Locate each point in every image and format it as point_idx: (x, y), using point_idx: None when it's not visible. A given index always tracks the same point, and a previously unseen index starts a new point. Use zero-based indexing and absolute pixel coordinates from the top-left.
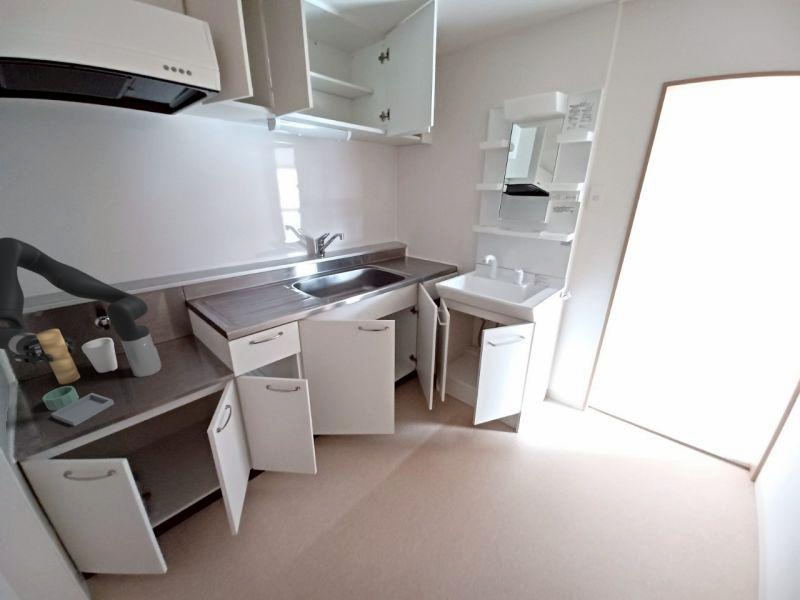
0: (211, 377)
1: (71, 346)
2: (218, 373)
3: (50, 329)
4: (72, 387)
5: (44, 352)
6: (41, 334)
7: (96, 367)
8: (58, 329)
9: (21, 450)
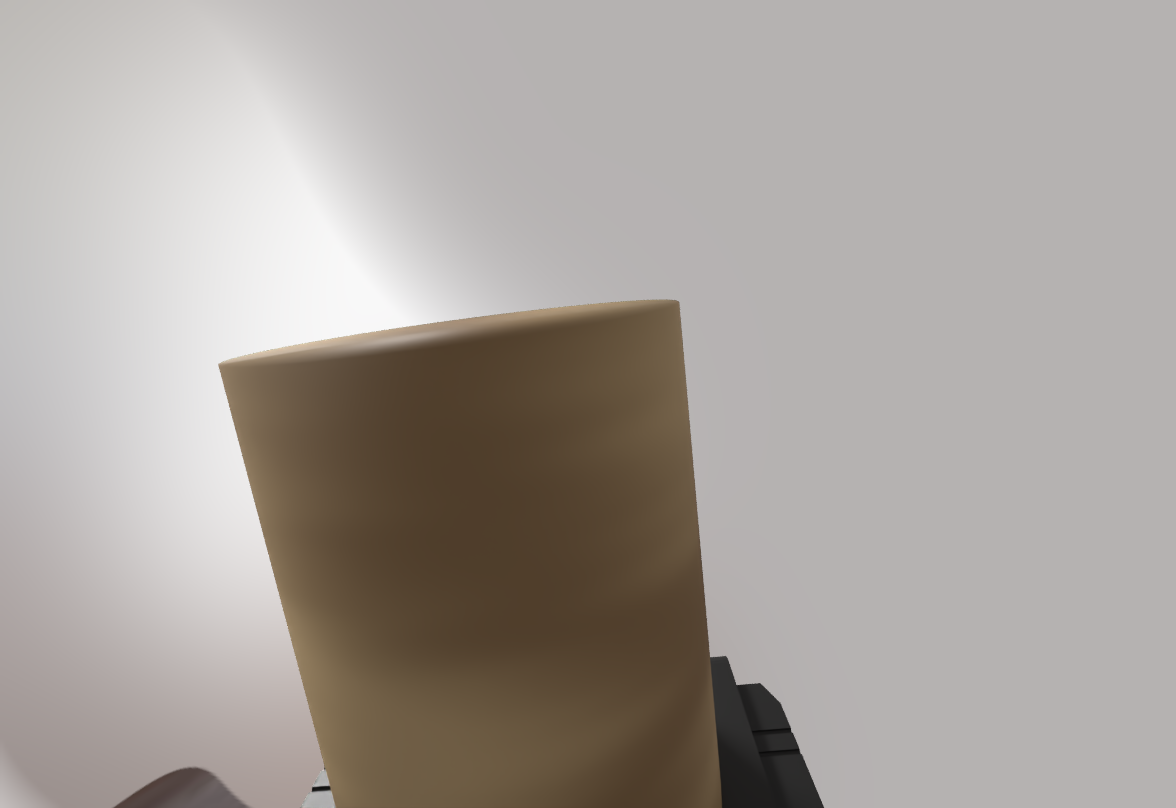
0: (199, 805)
1: (326, 794)
2: (160, 803)
3: (243, 365)
4: None
5: (717, 800)
6: (587, 312)
7: None
8: (290, 346)
9: None
